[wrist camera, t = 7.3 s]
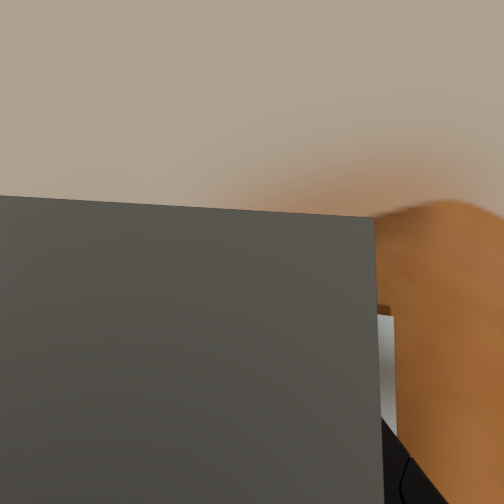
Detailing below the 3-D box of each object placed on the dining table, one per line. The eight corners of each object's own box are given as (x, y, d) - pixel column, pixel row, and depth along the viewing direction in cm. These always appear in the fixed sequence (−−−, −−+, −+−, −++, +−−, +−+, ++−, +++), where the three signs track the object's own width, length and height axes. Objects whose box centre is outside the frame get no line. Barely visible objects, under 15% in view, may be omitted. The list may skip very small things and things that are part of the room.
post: (296, 455, 13) (412, 1303, 1) (193, 436, 14) (-385, 815, 2) (303, 343, 15) (373, 216, 3) (212, 331, 16) (-14, 194, 4)
